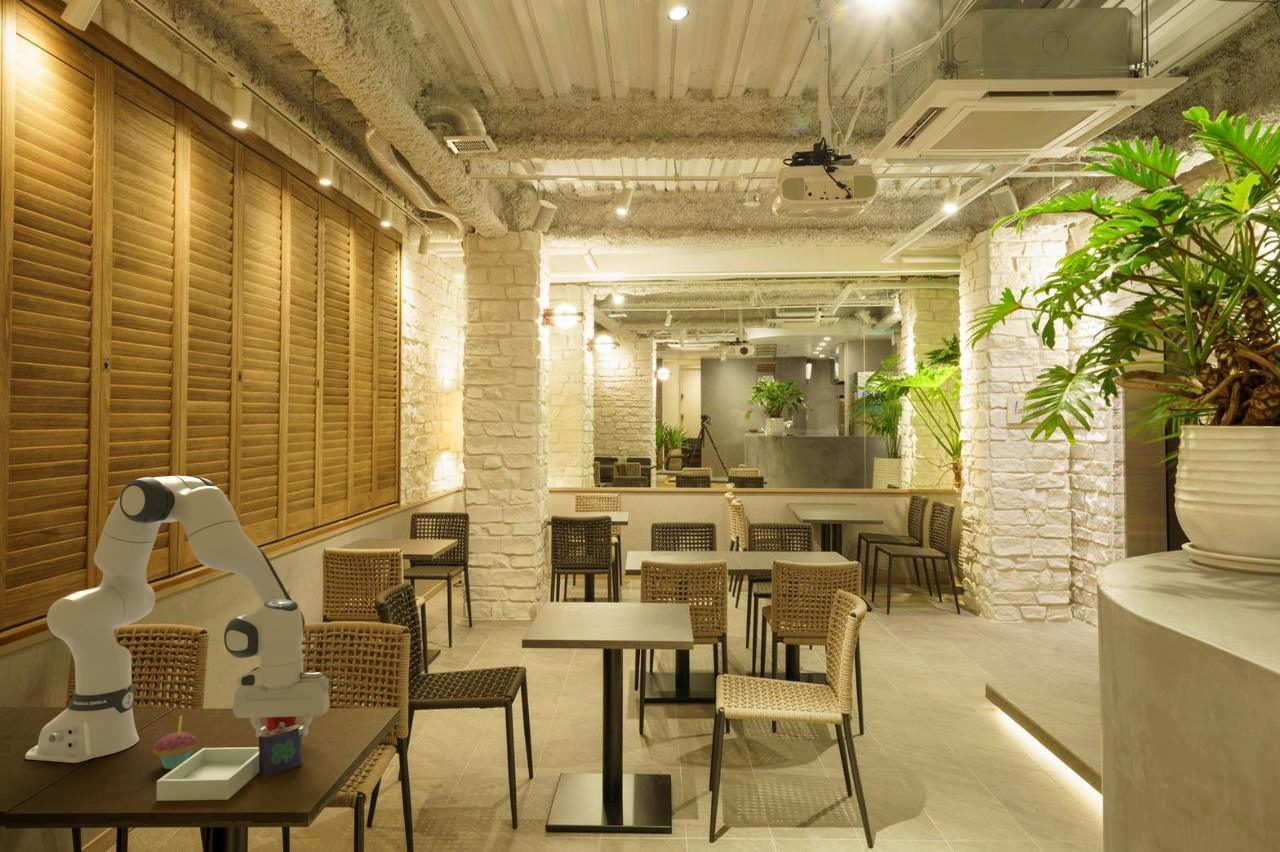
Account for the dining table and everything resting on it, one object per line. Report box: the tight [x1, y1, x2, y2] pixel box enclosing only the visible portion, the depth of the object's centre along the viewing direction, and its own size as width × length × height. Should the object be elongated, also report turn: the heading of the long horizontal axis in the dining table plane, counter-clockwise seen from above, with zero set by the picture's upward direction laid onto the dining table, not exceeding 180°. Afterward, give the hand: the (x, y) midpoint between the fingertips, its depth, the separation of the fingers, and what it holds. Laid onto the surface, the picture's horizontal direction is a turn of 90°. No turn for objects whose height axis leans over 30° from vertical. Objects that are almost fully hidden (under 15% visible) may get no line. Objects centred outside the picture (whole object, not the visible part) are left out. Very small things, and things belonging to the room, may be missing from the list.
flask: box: [258, 722, 303, 779], centre depth 167 cm, size 9×3×11 cm, turn 138°
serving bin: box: [156, 746, 259, 802], centre depth 162 cm, size 15×17×4 cm
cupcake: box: [152, 712, 198, 770], centre depth 171 cm, size 9×8×12 cm
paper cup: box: [266, 717, 297, 732], centre depth 182 cm, size 8×8×14 cm
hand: (282, 735), depth 167 cm, fingers open, 8 cm apart
